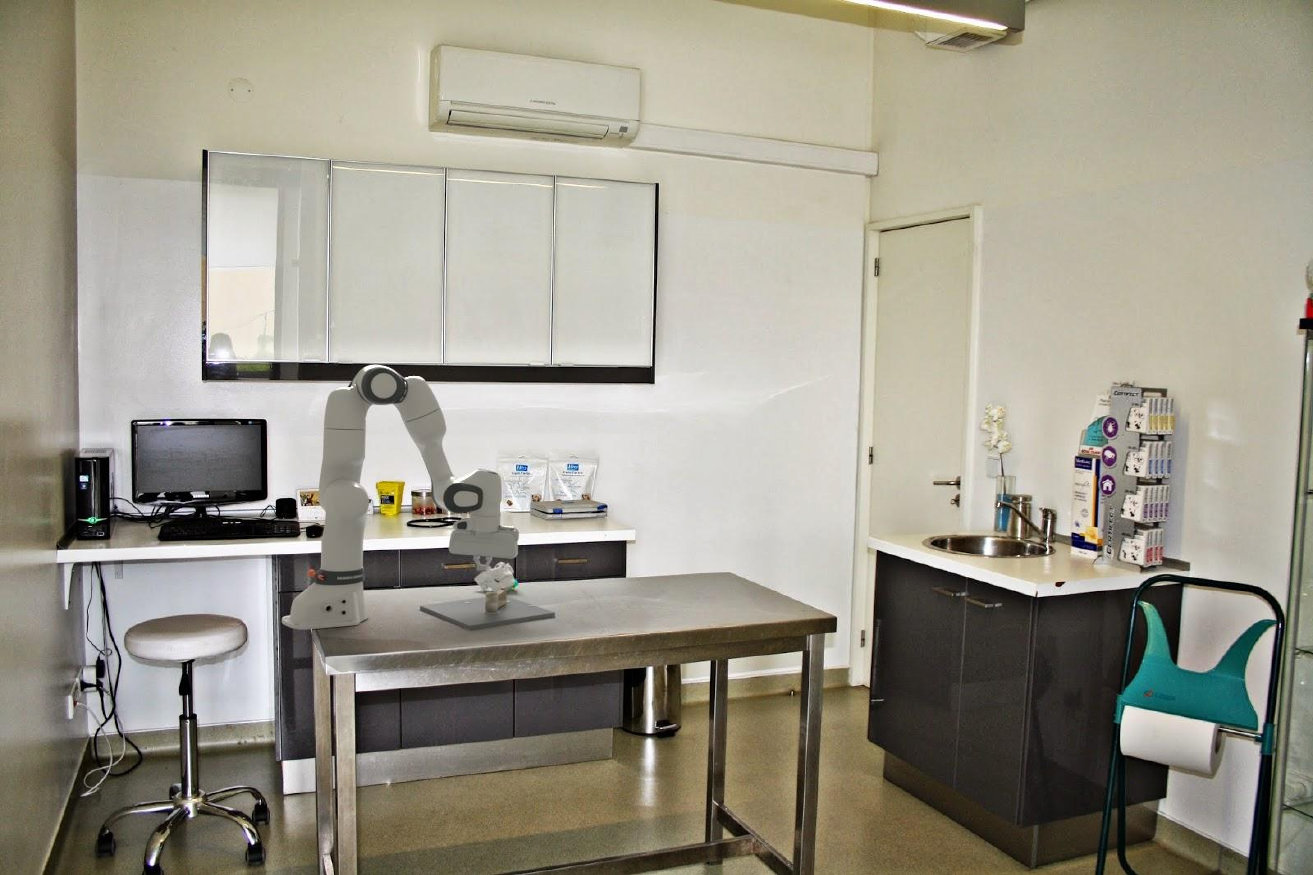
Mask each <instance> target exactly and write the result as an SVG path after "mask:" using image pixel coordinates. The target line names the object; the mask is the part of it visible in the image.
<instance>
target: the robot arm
mask: <svg viewBox="0 0 1313 875" xmlns="http://www.w3.org/2000/svg"><path fill="white" fill-rule="evenodd" d="M348 384H349V385H348V386H347V387H340V388H337V389H334V390H333V391H331V392H330V393H329V394H328V397H327V400H326V405H325V409H324V417H323V418H324V419H323V420H324V421H323V440H322V441H323V446H322V462H321V466H320V467H321V468H320V473H319V474H320V475H319V483H318V493H317V499H318V503H319V505H320V507H321V508H322V510H323V511H324V512H325V515H324V516H325V518H324V524H323V525H324V526H323V533H322V538H321V541H320V542H321V544H320V546H321V547H320V551H321V552H320V554H321V555H320V559H321V560H320V568H318V570H317V571H316V570H314V569H308V571H307V576H308V577H310V578H311V579H312V578H313V579H314V580H313V583H312V584H311V585H309V586H308V587H307V588H306V589H305V590H303V591H302V592H301V593H299V594H298V595H296V596H295V597H294V599H293V600H292V604H291V607H290V614H289V615H285V616H283V617H282V618H281V623H282V624H283V625H284V626H286V627H287V628H291V629H294V630H300V631H301V630H304V631H305V630H306V631H307V630H316V629H317V630H318V629H326V628H327V629H328V628H336V627H338V628H339V627H351V626H358V625H359V624H360V623H361V622H363V621H365V620H367V619H368V618H369V616H368V612H367V608H366V603H365V596H364V586H365V567H364V566H363V565H364V564H363V562H364V536H365V531H366V525H367V519H368V518H367V517H368V511H369V510H368V509H369V506H370V499H369V498H370V497H369V495H368V492H367V490H366V489H365V487H363V485H361V478H362V470H363V467H364V466H363V465H364V461H365V458H366V433H367V432H366V431H367V430H366V429H367V426H366V425H367V424H366V423H367V420H366V418H367V414H368V411H369V409H370V408H371V406H373V405H374V406H388V405H394V406H395V408H396V409H397V411H398V412H399V414H400V417H401V419H402V420H401V421H402V422H403V424H404V426H405V429H406V430H407V433H408V434H409V436H410V437H411V439H412V441H413V442H414V444H415V445H416V447H417V449H418V450H419V452H420V454H421V457H422V460H423V462H424V465H425V468H426V470H427V472H428V475H429V478H430V484H431V487H430V488H431V489H430V490H431V492H430V494H431V498H432V501H433V503H434V504H435V506H436V508H439V509H441V510H443V511H447V512H450V513H452V514H455V515H456V514H457V515H458V514H459V515H460V514H467V513H469V517H466V518H464V519H459V520H457V521H454V523H453V529H454V530H453V531H451V533H450V536H449V537H450V538H449V544H448V550H449V553H450V554H453V555H463V556H465V555H466V556H473V561H474V562H475V563H474V564H475V565H476V571H477V572H483V571H484V572H487V571H488V566H490V564H491V562H492V560H493V558H497V559H498V558H499V559H511V560H512V559H516V557H517V556H518V555H519V544H518V541H519V538H520V533H519V530H518V529H517V528H515V527H514V526H506V525H501V518H502V516H501V508H500V507H501V503H502V495H503V494H502V493H503V488H502V485H503V484H502V478H501V475H500V474H499V473H497V472H496V471H492V470H489V469H484V468H477V469H475V470H474V471H473V472H471V473H469V474H468V475H465V476H462V477H459V478H458V477H456V476H455V474H454V473H453V471H452V470H451V467H450V464H449V462H448V459H447V457H446V454H445V451H444V448H443V440H444V437H445V435H446V433H447V425H446V420H445V416H444V413H443V411H442V408H441V406H440V404H439V402H438V401H439V400H437V397H436V395H435V394H434V392H433V391H432V388H431V387H430V386H429V384H428V382H427V381H426V380H425V378H423V377H421V376H415V375H413V376H408V377H403V376H402V375H401V374H400V373H398V372H397V371H396V370H394V369H393V368H391V367H388V366H385V365H383V364H378V363H377V364H370V365H366V366H363V367H361V368H360V369H359V370H358V371H357V372H356V373H355V375H354V376H353V378H352V379H351V381H350V383H348ZM481 557H485V561H486V563H485V564H482V563H481V562H480V559H481Z"/></svg>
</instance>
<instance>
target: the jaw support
mask: <svg viewBox="0 0 1313 875" xmlns="http://www.w3.org/2000/svg"><path fill="white" fill-rule="evenodd" d="M514 572H515V571H514V569H513V567H512V566H511V565H510V562H507V563H506V562H502V561H500V562H498V563H496V565H495V566H494V568H492V567H491V566H490V565H488V571H487V572H484V571H481V572H480V573H479V574H477V576H475V577H474V581H475V582H476V583H477V585H478V587H480V588H481V590H482V591H483V592H487V589H489V588H490V589H491V590H492V592H498V591H499V590H501V587H506V589H507V588H510V589H515V588H516V587H517V586H519V582H518V580H517V579H516V578H515V577H514Z"/></svg>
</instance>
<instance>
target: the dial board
mask: <svg viewBox="0 0 1313 875" xmlns="http://www.w3.org/2000/svg"><path fill="white" fill-rule="evenodd" d="M419 610H420V611H422V612H425V613H427V614H430V615H431V616H434V617H437V618H440V619H442V620H444V621H447V622H449V623H451V624H454V625H456V626H459V627H461V628H464V629H466V630H468V631H472V630H478V629H484V628H490V627H496V626H497V627H498V626H504V625H509V624H511V625H512V624H517V623H521V622H523V623H524V622H529V621H536V620H541V618H543V619H547V618H555V617H556V616H555V615H556V612H554V611H552V610H548V609H546V608H543V607H539V606H537V605H534V604H532V603H528V602H526V601H523V600H519V599H517V598H513V597H510V596H507V602H506V603H505V604H504V605H502V606H501V607H500V608H498V612H494V613H488V612H485V596H483V597H476V598H475V597H474V598H468V599H460V600H455V601H454V600H451V601H444V602H437V603H431V604H430V603H429V604H423V605H420V606H419Z"/></svg>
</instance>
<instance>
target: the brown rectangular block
mask: <svg viewBox="0 0 1313 875" xmlns="http://www.w3.org/2000/svg"><path fill="white" fill-rule="evenodd" d="M507 592H508V589H507V588H506V587H501V589H500V590H498V591H497V592H494V591H486V592H485V596H484V597H485V612H488V613H494V612H498V608H500V607H501V606H502V605H504V604H505V603H506V602H507V595H508V593H507Z"/></svg>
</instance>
